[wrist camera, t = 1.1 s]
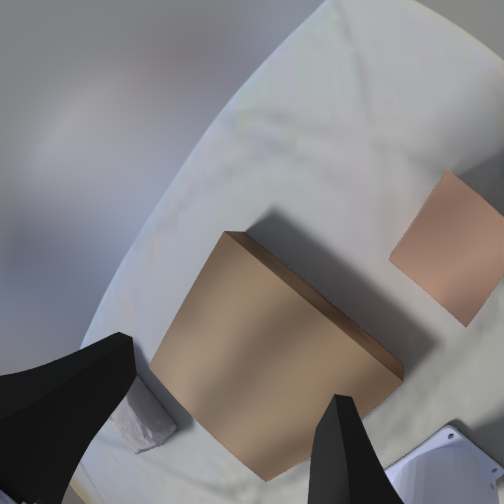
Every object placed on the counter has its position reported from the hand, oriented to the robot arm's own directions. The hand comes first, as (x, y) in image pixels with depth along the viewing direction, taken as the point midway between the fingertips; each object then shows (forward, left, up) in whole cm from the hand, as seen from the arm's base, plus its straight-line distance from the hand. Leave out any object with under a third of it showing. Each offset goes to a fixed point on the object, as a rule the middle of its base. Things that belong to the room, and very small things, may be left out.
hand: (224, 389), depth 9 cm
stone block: (+8, +23, -11) cm, 27 cm away
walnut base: (0, +6, -10) cm, 12 cm away
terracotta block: (-4, -8, -11) cm, 14 cm away
